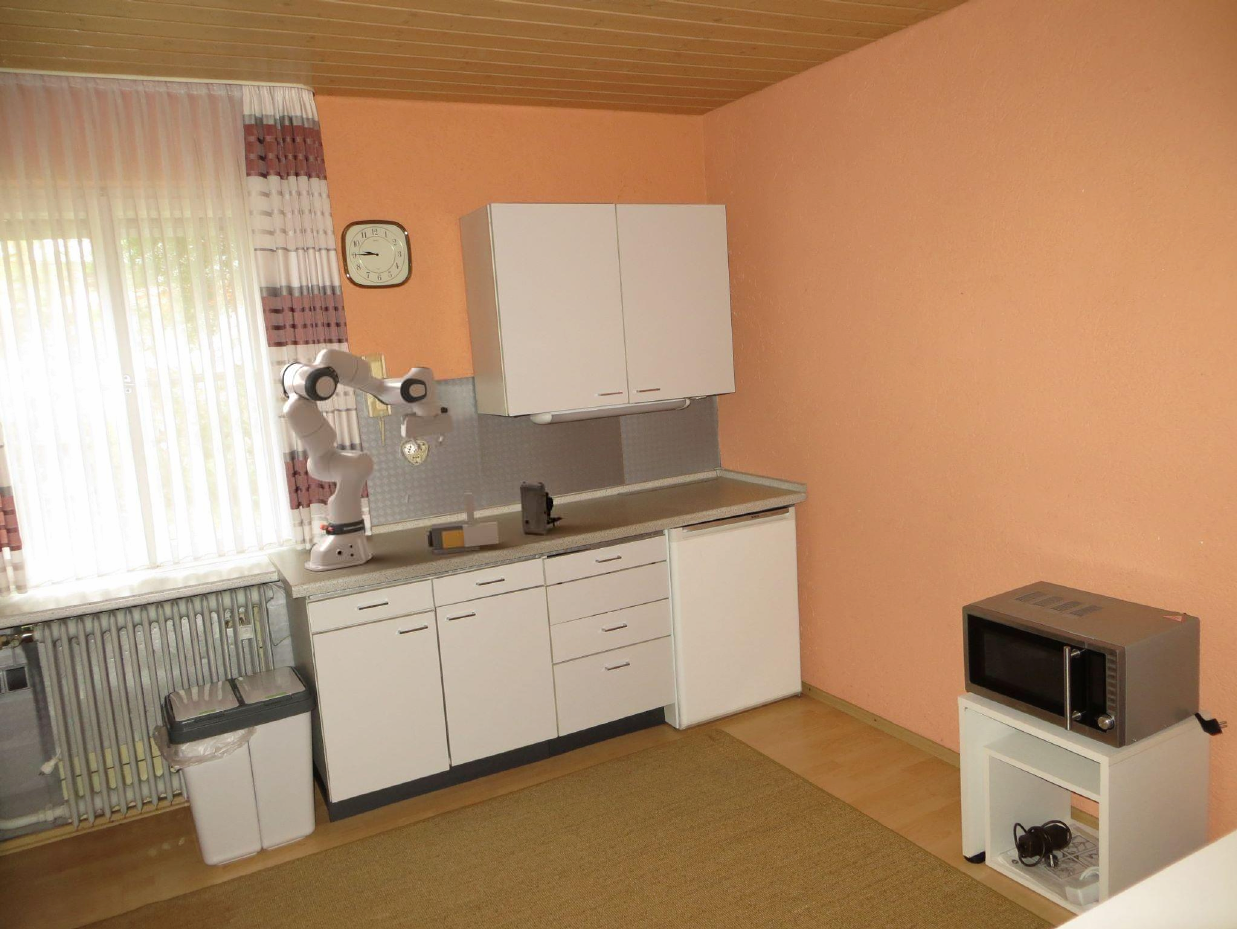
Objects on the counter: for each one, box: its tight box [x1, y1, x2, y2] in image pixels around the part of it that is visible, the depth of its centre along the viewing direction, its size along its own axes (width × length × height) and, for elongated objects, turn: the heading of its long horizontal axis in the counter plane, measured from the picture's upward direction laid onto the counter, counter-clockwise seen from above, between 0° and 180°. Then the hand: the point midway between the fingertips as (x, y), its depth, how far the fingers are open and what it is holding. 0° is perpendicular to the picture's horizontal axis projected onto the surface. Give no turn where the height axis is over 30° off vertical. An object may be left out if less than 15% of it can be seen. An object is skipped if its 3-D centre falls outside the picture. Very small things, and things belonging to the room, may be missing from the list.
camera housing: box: [426, 518, 480, 556], centre depth 321 cm, size 18×10×10 cm, turn 101°
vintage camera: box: [519, 481, 565, 536], centre depth 342 cm, size 10×16×20 cm, turn 149°
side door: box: [463, 492, 500, 547], centre depth 318 cm, size 12×2×19 cm, turn 101°
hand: (429, 447), depth 336 cm, fingers open, 8 cm apart
